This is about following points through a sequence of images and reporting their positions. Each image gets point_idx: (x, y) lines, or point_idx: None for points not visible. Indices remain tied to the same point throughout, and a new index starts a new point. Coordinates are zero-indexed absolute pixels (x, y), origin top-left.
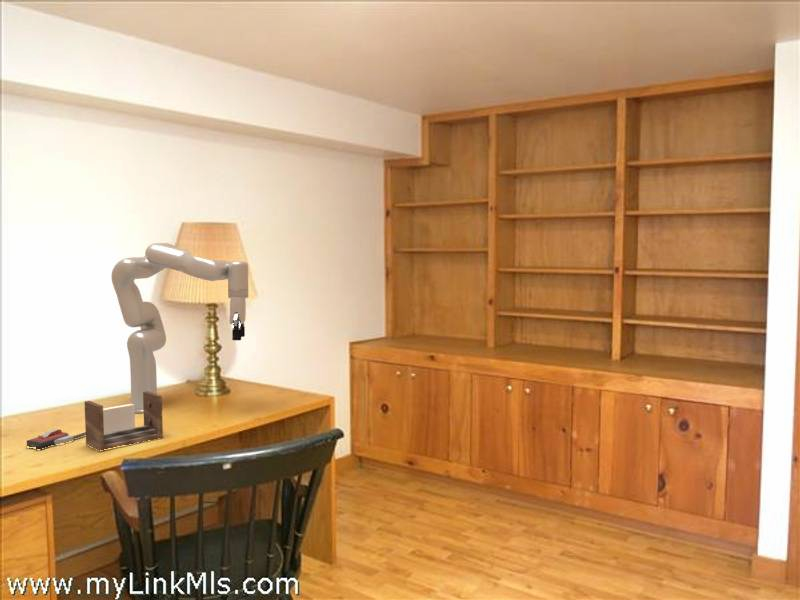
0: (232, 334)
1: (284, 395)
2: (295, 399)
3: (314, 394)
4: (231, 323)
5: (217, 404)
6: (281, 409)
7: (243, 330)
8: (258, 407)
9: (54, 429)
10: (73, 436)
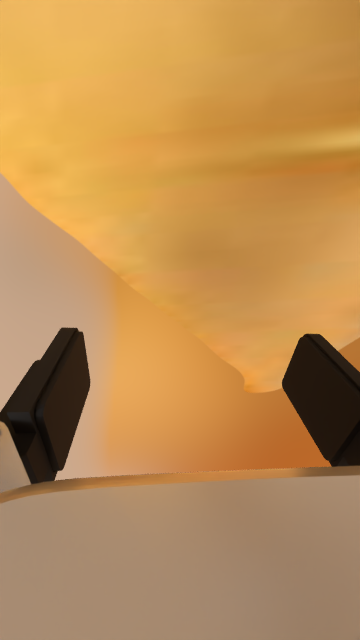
0: (40, 363)
1: (320, 322)
2: (273, 343)
3: None
4: (172, 474)
5: (294, 152)
6: (193, 321)
7: (308, 425)
8: (223, 273)
9: None
10: None
